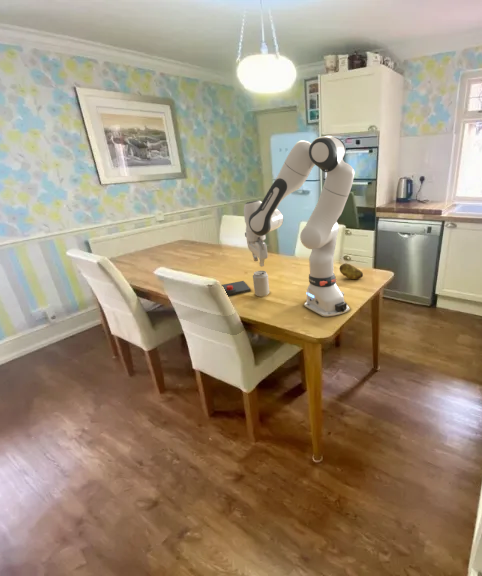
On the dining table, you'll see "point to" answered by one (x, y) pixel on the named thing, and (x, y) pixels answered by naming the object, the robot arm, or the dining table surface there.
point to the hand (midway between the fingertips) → (258, 263)
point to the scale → (237, 288)
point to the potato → (350, 271)
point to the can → (261, 283)
